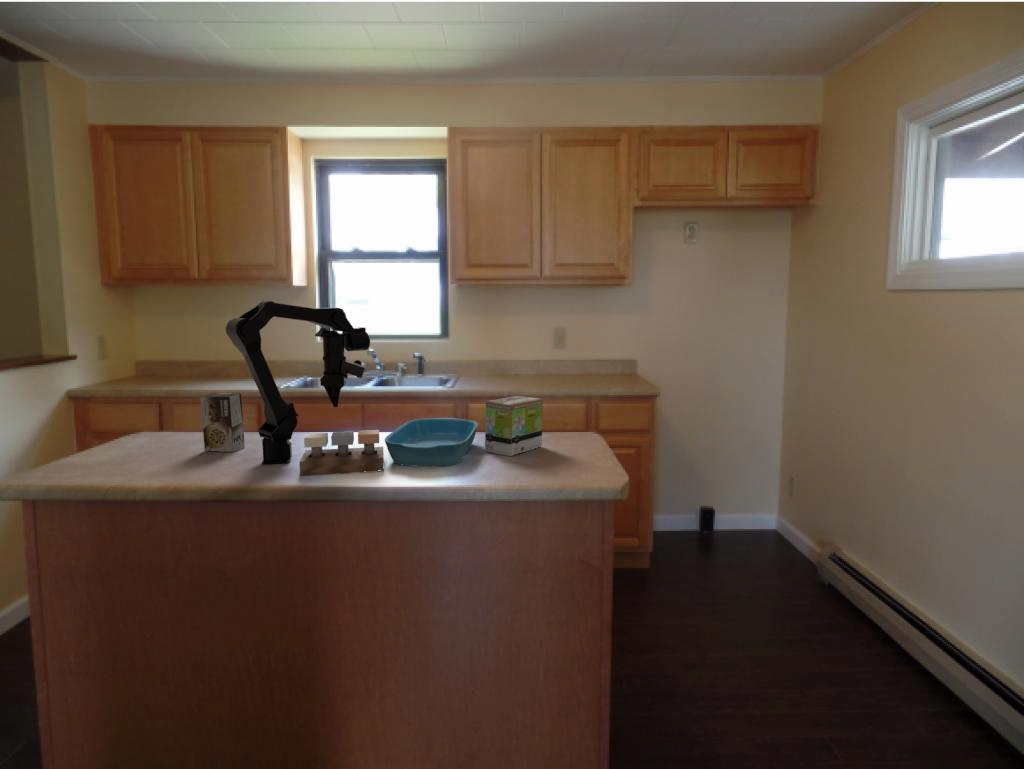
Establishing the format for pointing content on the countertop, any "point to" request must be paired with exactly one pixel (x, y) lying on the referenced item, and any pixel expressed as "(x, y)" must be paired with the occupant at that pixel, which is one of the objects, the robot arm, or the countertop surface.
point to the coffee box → (222, 422)
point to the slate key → (342, 441)
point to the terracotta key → (368, 440)
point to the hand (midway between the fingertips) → (335, 406)
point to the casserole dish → (431, 441)
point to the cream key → (316, 443)
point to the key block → (341, 462)
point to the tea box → (513, 425)
